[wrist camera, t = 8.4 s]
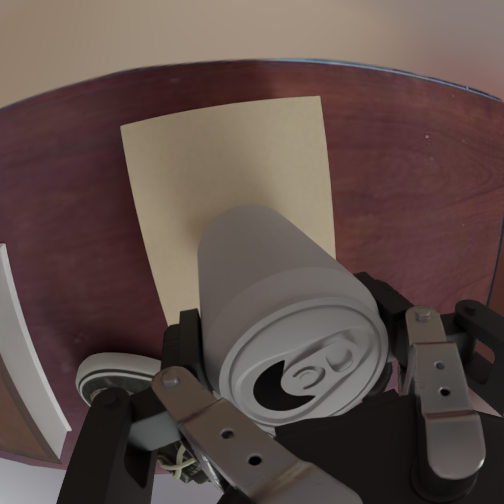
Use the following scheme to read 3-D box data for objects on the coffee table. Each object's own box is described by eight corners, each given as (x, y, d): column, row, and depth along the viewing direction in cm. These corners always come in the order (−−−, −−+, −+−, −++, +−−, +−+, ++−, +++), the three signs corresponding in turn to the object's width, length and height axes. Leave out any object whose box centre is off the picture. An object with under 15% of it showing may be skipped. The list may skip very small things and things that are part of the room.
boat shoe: (104, 321, 29) (79, 384, 20) (308, 422, 40) (331, 474, 31) (70, 379, 31) (48, 438, 22) (260, 460, 41) (273, 509, 32)
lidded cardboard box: (140, 131, 24) (119, 125, 17) (286, 107, 26) (320, 94, 18) (184, 323, 31) (184, 374, 24) (307, 297, 32) (338, 339, 25)
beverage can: (176, 241, 19) (158, 371, 8) (263, 181, 19) (359, 239, 8) (234, 313, 21) (273, 460, 10) (312, 260, 21) (416, 372, 10)
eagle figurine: (329, 345, 34) (345, 401, 35) (384, 354, 28) (393, 413, 30) (363, 311, 38) (375, 365, 40) (413, 314, 32) (420, 372, 34)
